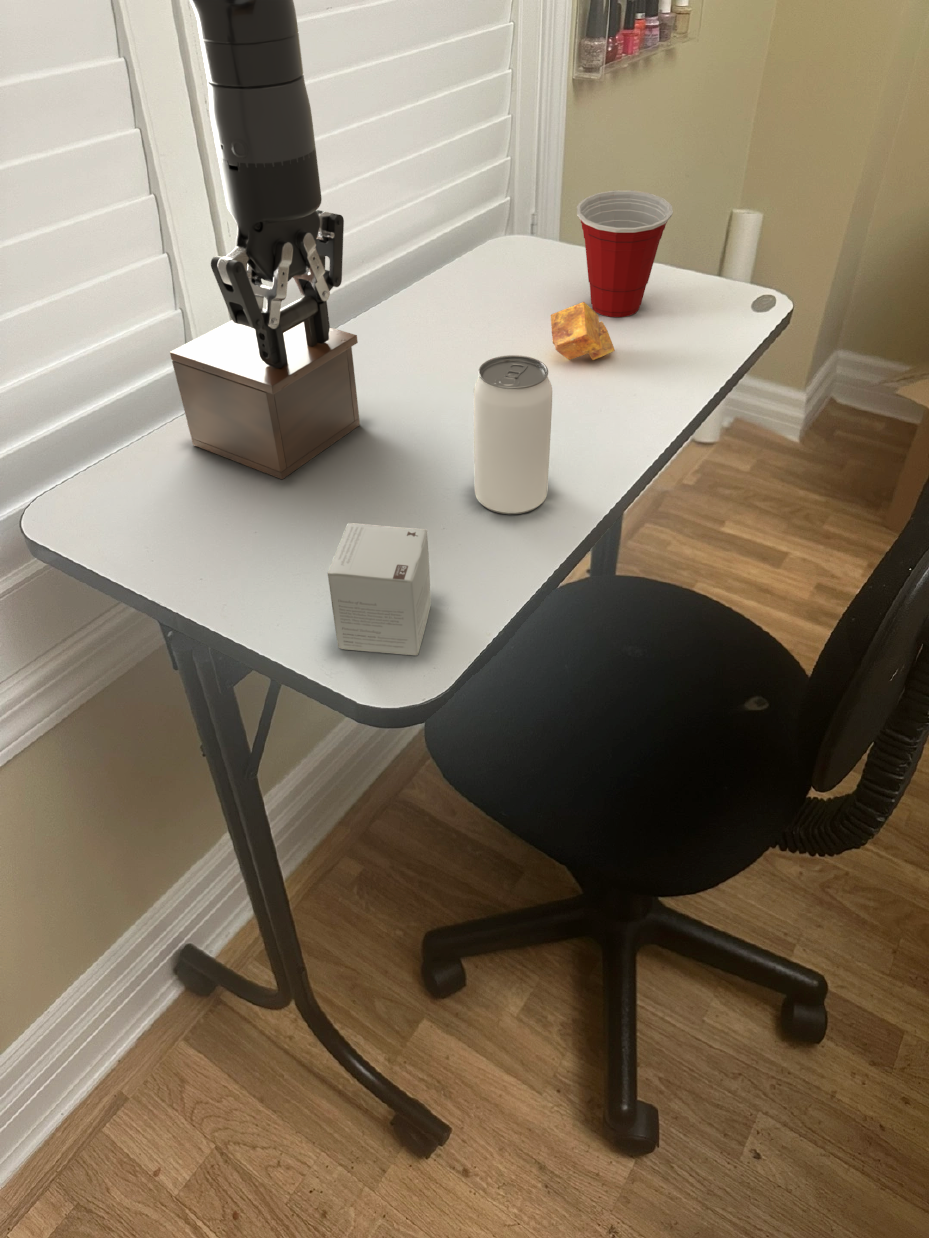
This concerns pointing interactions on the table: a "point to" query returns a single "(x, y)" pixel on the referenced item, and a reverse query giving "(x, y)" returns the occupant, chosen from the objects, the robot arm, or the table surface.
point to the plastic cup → (621, 246)
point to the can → (512, 434)
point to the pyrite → (580, 333)
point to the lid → (238, 352)
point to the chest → (271, 415)
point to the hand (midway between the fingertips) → (297, 352)
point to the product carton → (381, 588)
